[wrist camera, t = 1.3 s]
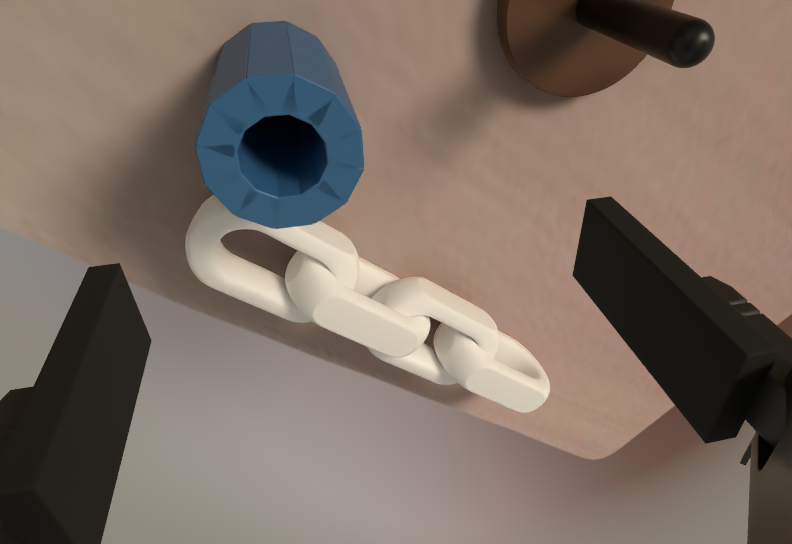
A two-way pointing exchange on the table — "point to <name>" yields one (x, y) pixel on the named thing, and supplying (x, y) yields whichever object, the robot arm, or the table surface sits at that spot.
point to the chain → (369, 307)
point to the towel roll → (279, 129)
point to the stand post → (650, 29)
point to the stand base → (562, 47)
